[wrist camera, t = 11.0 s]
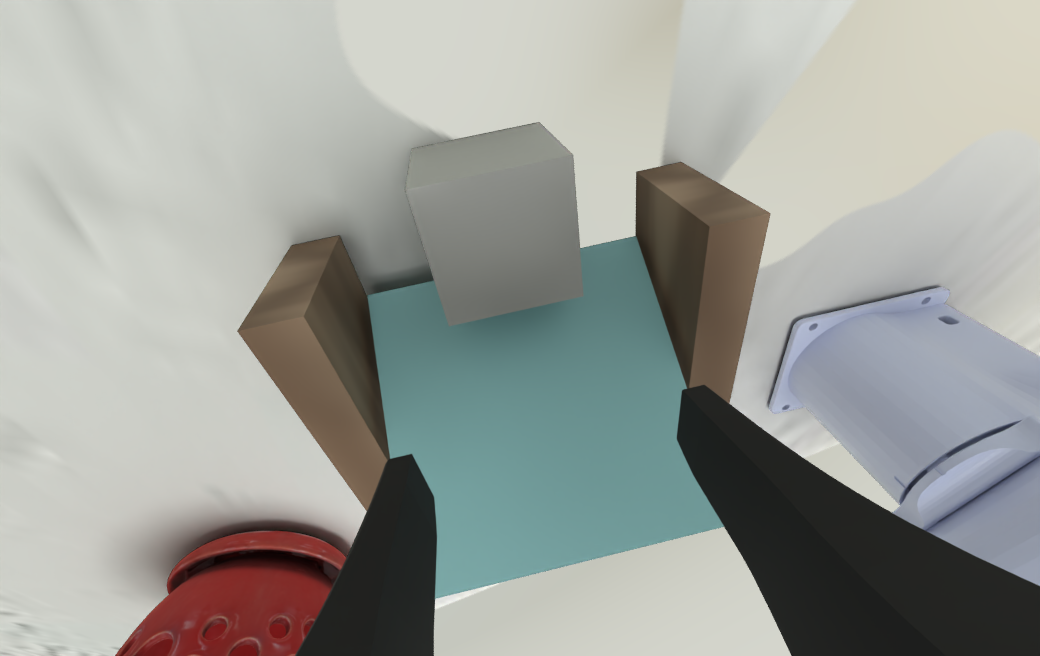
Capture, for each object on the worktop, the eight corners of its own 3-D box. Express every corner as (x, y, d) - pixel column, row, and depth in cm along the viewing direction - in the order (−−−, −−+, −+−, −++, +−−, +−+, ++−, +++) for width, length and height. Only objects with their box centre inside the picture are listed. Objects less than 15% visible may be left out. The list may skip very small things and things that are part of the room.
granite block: (552, 239, 19) (539, 121, 16) (583, 296, 15) (572, 154, 12) (445, 262, 19) (412, 148, 16) (448, 326, 15) (404, 190, 12)
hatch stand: (681, 162, 18) (770, 213, 13) (663, 395, 27) (713, 476, 22) (291, 245, 17) (237, 331, 13) (404, 456, 26) (397, 553, 21)
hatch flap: (620, 267, 22) (636, 235, 19) (697, 510, 19) (732, 524, 15) (392, 317, 21) (367, 295, 18) (432, 575, 18) (410, 604, 15)
